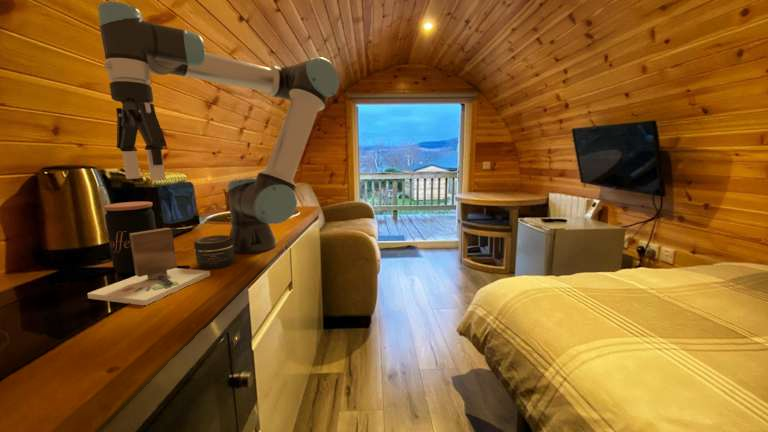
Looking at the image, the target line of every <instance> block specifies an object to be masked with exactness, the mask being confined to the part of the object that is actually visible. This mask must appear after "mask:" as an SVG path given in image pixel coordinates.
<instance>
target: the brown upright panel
mask: <svg viewBox="0 0 768 432" xmlns="http://www.w3.org/2000/svg"><path fill="white" fill-rule="evenodd" d="M129 235H130V241H131V248H132V254H133V261H134V267H135V272H134V273H135V276H136V275H137V276H138V277H141V276H145V275H147V277H148V279H149V280H156V279H160V280H161V281H163V282H165V283H166V284H168V285H172V284H173V282H172V281H170V280H168V279H167V278H165V277H166V276H167V270H170V269H174V268H178V266H177V265H178V264H177V259H176V256H177V255H176V252H175V251H176V250H175V242H174V235H173V228H170V227H164V228H156V230H150V231H143V232H137V233H130V234H129Z"/></svg>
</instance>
